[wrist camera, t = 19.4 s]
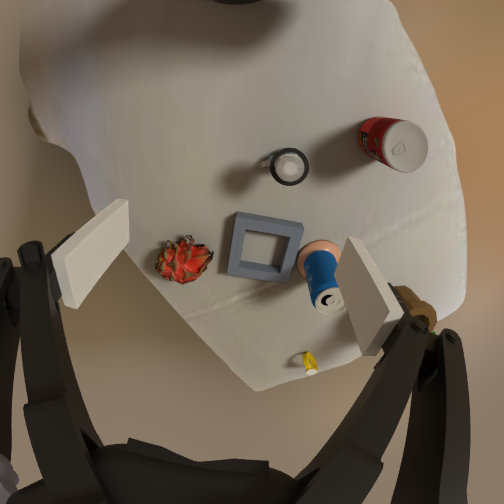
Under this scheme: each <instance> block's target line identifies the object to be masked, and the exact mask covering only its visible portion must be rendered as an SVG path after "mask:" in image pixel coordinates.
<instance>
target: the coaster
mask: <svg viewBox="0 0 504 504" xmlns="http://www.w3.org/2000/svg"><path fill="white" fill-rule="evenodd" d="M318 250H326V251H329V252H331V253H332V254H333V255H334V256H335V258H336V261H337V263H338V262H339V260H340V257H341V252H340V250H339V248H338V247H337V246H336V245H335V244H334V243H332V242H330V241H327V240H317V241H313V242H311V243H309V244H307V245H306V246H305V247H304V248H303V249H302V250H301V251H300V253H299V255H298V259H297V265H298V269H299V271H300V273H301V274H302V275H303V276H304V277H305V278H306V275H305V270H304V262H305V259H306V258H307V257H308V256H309V255H310V254H311V253H312V252H315V251H318Z"/></svg>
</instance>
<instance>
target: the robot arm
mask: <svg viewBox="0 0 504 504" xmlns="http://www.w3.org/2000/svg"><path fill="white" fill-rule="evenodd" d="M214 1H217V2H220V3H226V4H245V3H251V2H255V1H258V0H214ZM128 242H129V215H128V200H124V199H116V200H115V201H114V202H112V203H111V204H110V205H108V206H107V207H106V208H105V209H103V210H102V211H101V212H100V213H98V214H97V215H96V216H95V217H93V218H92V219H91V220H90V221H89V222H88V223H86V224H85V225H84V226H83V227H82V228H80V229H79V230H78V231H77V232H74V233H72V234H70V235H67V236H66V237H65V238H64V239H63V240H62V241H61V242H59V243H58V244H57V246H55V247H54V248H53V249H51V250H50V251H49V252H48V253H47V254H46V255H45V254H44V249H43V245H42V243H41V242H40V241H30V242H27V243H25V244H23V245H21V246H20V248H19V249H18V251H17V252H18V256H19V259H20V263H21V267H13V264H12V261H11V259H10V258H7V257H4V258H0V504H362V502H363V501H364V499H365V498H366V496H367V495H368V493H369V492H370V490H371V488H372V487H373V485H374V483H375V482H376V480H377V478H378V477H379V475H380V473H381V471H382V469H383V463H382V462H381V457H382V455H383V453H384V452H385V450H386V448H387V446H388V444H389V442H390V440H391V438H392V436H393V434H394V432H395V429H396V427H397V425H398V423H399V421H400V418H401V416H402V414H403V411H404V409H405V406H406V404H407V402H408V399H409V397H410V394H411V391H412V398H411V399H412V400H411V407H410V417H409V423H408V430H407V436H406V442H405V448H404V452H403V457H402V462H401V466H400V470H399V474H398V478H397V482H396V486H395V489H394V493H393V496H392V500H391V504H468V502H467V493H466V489H467V481H468V473H469V460H470V406H469V405H470V404H469V391H468V381H467V373H466V365H465V359H464V352H463V347H462V342H461V339H460V337H459V336H458V334H457V333H456V332H455V331H453V330H451V329H444V330H442V332H441V333H440V334H439V335H436V334H433V333H430V332H429V328H428V326H427V325H426V324H425V323H424V322H423V321H421V320H420V319H417V318H413V317H412V316H411V314H410V312H409V310H408V309H407V307H406V305H405V303H404V302H403V300H402V298H401V297H400V295H399V293H398V292H397V290H396V289H395V288H394V287H393V286H392V285H391V284H390V283H387V282H386V280H385V279H384V277H383V275H382V274H381V272H380V270H379V269H378V267H377V266H376V264H375V262H374V261H373V259H372V258H371V256H370V255H369V253H368V251H367V250H366V248H365V247H364V245H363V244H362V242H361V241H360V239H358V238H354V237H349V236H348V238H347V240H346V243H345V246H344V249H343V252H342V254H341V257H340V260H339V262H338V265H337V267H336V270H335V273H334V276H335V279H336V282H337V284H338V287H339V290H340V292H341V295H342V298H343V300H344V303H345V306H346V309H347V312H348V314H349V317H350V320H351V323H352V326H353V329H354V332H355V335H356V338H357V341H358V344H359V347H360V350H361V353H362V356H376V355H377V353H378V352H379V350H380V349H381V348H382V349H383V351H384V355H383V356H382V357H381V359H380V360H379V361H378V363H377V364H376V366H375V367H374V369H375V370H374V372H373V373H372V375H371V377H370V378H369V380H368V382H367V383H366V385H365V387H364V388H363V390H362V392H361V393H360V395H359V397H358V398H357V400H356V401H355V403H354V404H353V406H352V407H351V409H350V410H349V412H348V413H347V415H346V416H345V418H344V419H343V421H342V422H341V423H340V425H339V427H338V428H337V429H336V431H335V432H334V433H333V435H332V436H331V437H330V439H329V440H328V441H327V443H326V444H325V445H324V446H323V448H322V449H321V450H320V451H319V453H318V454H317V455H316V456H315V458H314V459H313V460H312V461H311V462H310V464H308V466H307V467H305V468H304V469H303V470H302V471H301V472H300V473H299V474H298V475H297V476H296V477H295V478H292V477H290V476H289V475H287V474H285V473H283V472H281V471H279V470H276V469H273V468H270V467H269V461H261V460H244V459H227V460H216V461H205V462H204V461H203V462H197V461H193V460H190V459H188V458H185V457H183V456H181V455H179V454H176V453H174V452H172V451H170V450H168V449H166V448H164V447H161V446H158V445H154V444H149V443H146V442H142V441H139V440H135V439H132V438H129V439H128V442H127V444H114V445H107V446H104V445H103V443H102V441H101V440H100V438H99V436H98V435H97V433H96V431H95V429H94V427H93V425H92V422H91V420H90V417H89V415H88V412H87V409H86V407H85V404H84V401H83V399H82V396H81V392H80V390H79V386H78V383H77V380H76V377H75V373H74V370H73V366H72V363H71V359H70V355H69V351H68V347H67V343H66V338H65V334H64V329H63V324H62V318H61V313H60V307H59V304H58V300H59V298H60V297H61V296H62V298H63V301H64V305H65V306H68V307H71V308H74V309H78V307H79V306H80V305H81V303H82V302H83V300H84V299H85V297H86V296H87V295H88V293H89V292H90V291H91V289H92V288H93V286H94V285H95V284H96V282H97V281H98V280H99V278H100V277H101V276H102V275H103V273H104V272H105V270H106V269H107V268H108V267H109V266H110V264H111V263H112V262H113V260H114V259H115V258H116V257H117V255H118V254H119V253H120V252H121V251H122V249H123V248H124V247H125V246H126V244H127V243H128ZM20 338H21V352H22V361H23V371H24V378H25V385H26V391H27V396H28V404H24V407H23V410H24V417H25V421H26V426H27V430H28V434H29V437H30V441H31V445H32V448H33V451H34V454H35V457H36V460H37V463H38V466H39V469H40V472H41V474H42V477H43V479H41V480H39V481H37V482H35V483H33V484H31V485H29V486H27V487H24V488H23V489H20V490H17V487H16V485H17V484H18V482H19V478H18V475H17V473H16V472H15V471H14V470H13V467H12V465H11V464H10V461H11V449H12V434H11V433H12V431H11V416H12V393H13V381H14V371H15V363H16V357H17V351H18V345H19V339H20Z"/></svg>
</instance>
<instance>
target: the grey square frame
mask: <svg viewBox="0 0 504 504" xmlns="http://www.w3.org/2000/svg"><path fill="white" fill-rule="evenodd" d="M246 229H247V230H253V231H259V232H265V233H271V234H276V235H282V236H288V237H287V241H286V245H285V249H284V252H283V256H282V260H281V263H280V267H277V266H271V265H265V264H258V263H252V262H246V261H240V257H241V252H242V246H243V241H244V235H245V230H246ZM303 231H304V227H303V224H302V223H299V222H293V221H288V220H283V219H277V218H272V217H266V216H260V215H255V214H249V213H243V212H237V214H236V220H235V226H234V232H233V238H232V244H231V251H230V257H229V264H228V270H227V274H228V275H234V276H241V277H247V278H253V279H259V280H266V281H272V282H279V283H285V284H288V282H289V279H290V275H291V272H292V269H293V265H294V262H295V259H296V255H297V252H298V249H299V245H300V242H301V238H302V235H303Z"/></svg>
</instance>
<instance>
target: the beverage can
mask: <svg viewBox="0 0 504 504" xmlns="http://www.w3.org/2000/svg"><path fill="white" fill-rule="evenodd" d="M337 265H338V263H337V261H336V258H335V256H334V255H333V254H332V253H331V252H329V251H326V250H318V251H315V252H312V253H311V254H310V255H309V256H308V257H307V258H306V259H305V262H304V270H305V275H306V279H307V283H308V287H309V292H310V296H311V300H312V304H313V305H314V307H315V308H316V309H317V310H318V311H319V312H320V313H322V314H326V315H331V314H336V313H338V312H340V311H342V310H343V309H344V308H345V307H346V306H345V303H344V300H343V298H342V295H341V292H340V290H339V287H338V284H337V282H336V279H335V276H334V273H335V270H336V267H337Z"/></svg>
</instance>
